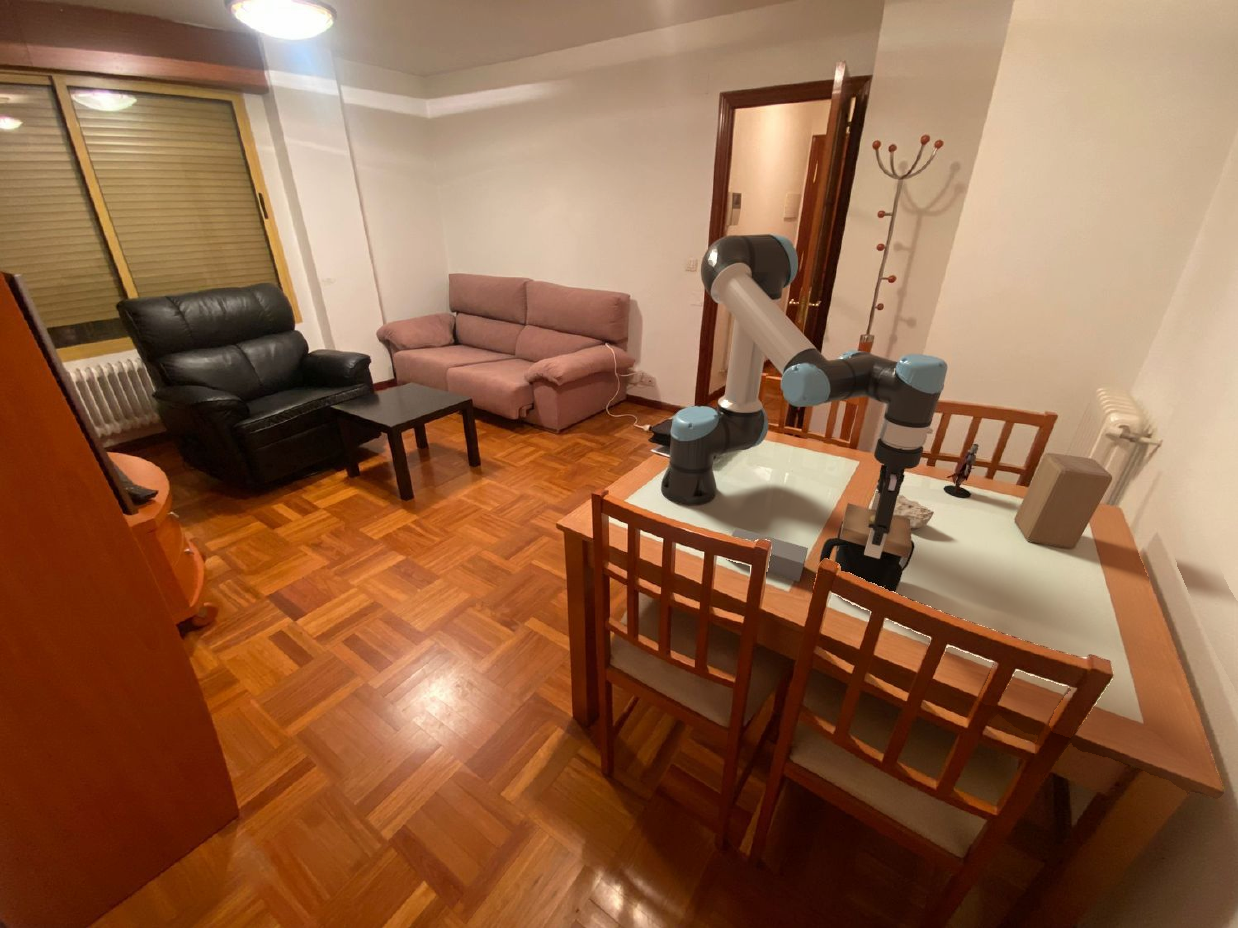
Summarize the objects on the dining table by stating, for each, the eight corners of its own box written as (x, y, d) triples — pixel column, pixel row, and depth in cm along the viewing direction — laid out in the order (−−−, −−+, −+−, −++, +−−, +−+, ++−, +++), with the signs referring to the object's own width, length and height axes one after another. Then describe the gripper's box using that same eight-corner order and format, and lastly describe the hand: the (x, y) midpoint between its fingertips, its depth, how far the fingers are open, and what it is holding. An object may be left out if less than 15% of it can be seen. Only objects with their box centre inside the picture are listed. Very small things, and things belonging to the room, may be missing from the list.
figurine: (971, 500, 136) (991, 451, 129) (940, 493, 139) (958, 445, 132) (970, 489, 141) (989, 442, 134) (940, 483, 144) (957, 436, 137)
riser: (725, 559, 112) (728, 541, 110) (733, 544, 117) (736, 527, 115) (799, 582, 106) (803, 563, 103) (803, 566, 110) (808, 548, 108)
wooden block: (1058, 528, 125) (1094, 457, 116) (1075, 551, 117) (1116, 477, 107) (1011, 520, 128) (1043, 450, 119) (1025, 542, 120) (1061, 469, 110)
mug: (837, 550, 116) (850, 505, 111) (910, 584, 106) (928, 536, 101) (804, 578, 106) (818, 529, 101) (882, 618, 96) (902, 567, 91)
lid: (839, 538, 98) (844, 523, 97) (844, 513, 108) (848, 498, 107) (907, 558, 93) (913, 542, 92) (906, 529, 103) (911, 514, 102)
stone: (896, 543, 125) (926, 522, 117) (862, 503, 130) (889, 481, 122) (911, 533, 129) (942, 513, 121) (878, 495, 134) (905, 473, 126)
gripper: (926, 475, 79) (893, 579, 89) (922, 421, 99) (895, 510, 109) (874, 465, 82) (847, 566, 92) (881, 415, 102) (858, 502, 112)
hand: (873, 537), depth 101 cm, fingers open, 13 cm apart
